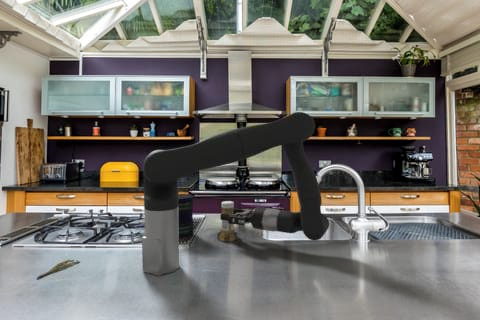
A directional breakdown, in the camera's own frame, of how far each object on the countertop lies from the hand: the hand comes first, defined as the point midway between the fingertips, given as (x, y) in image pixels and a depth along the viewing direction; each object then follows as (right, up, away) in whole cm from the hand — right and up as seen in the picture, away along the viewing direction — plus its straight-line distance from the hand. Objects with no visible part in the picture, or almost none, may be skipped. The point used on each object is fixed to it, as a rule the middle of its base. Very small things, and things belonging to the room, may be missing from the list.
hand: (227, 213), depth 111 cm
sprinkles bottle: (0, -9, +1) cm, 9 cm away
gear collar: (0, -9, 0) cm, 9 cm away
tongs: (-46, -12, -27) cm, 54 cm away
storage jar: (-18, -9, +4) cm, 20 cm away
